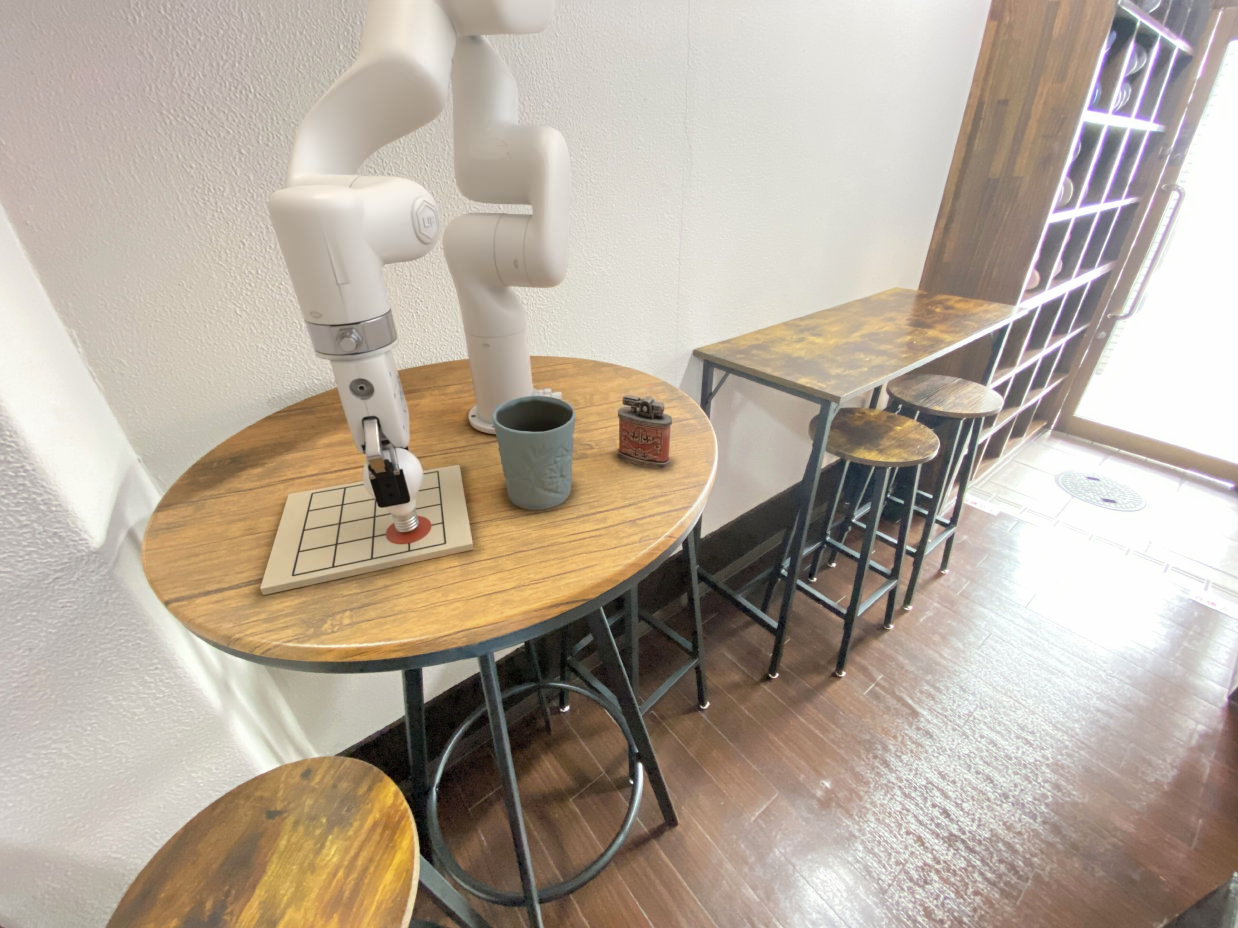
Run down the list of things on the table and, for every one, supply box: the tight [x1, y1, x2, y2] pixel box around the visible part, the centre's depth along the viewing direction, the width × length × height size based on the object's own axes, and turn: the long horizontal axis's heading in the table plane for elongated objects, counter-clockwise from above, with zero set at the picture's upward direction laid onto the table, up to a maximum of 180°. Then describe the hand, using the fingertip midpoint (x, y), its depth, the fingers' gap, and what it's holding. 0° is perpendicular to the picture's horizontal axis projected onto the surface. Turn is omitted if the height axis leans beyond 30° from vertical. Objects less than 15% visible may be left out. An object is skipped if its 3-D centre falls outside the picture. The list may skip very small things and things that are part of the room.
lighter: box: [617, 394, 673, 469], centre depth 77 cm, size 8×3×10 cm, turn 65°
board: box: [259, 464, 474, 596], centre depth 66 cm, size 22×18×1 cm
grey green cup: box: [492, 396, 576, 511], centre depth 69 cm, size 10×10×12 cm
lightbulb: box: [361, 448, 424, 532], centre depth 61 cm, size 6×6×11 cm
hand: (395, 479), depth 60 cm, fingers open, 9 cm apart
